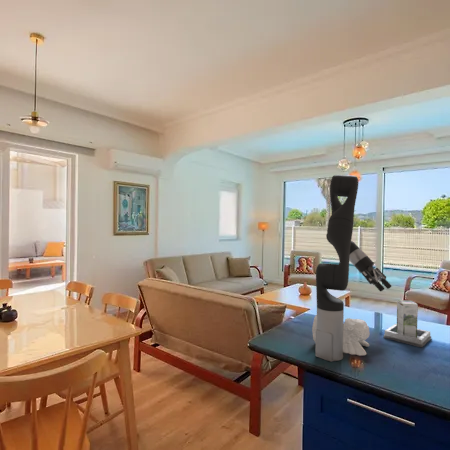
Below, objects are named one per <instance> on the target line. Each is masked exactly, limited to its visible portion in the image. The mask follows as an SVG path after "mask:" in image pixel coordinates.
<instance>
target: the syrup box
mask: <svg viewBox="0 0 450 450" xmlns="http://www.w3.org/2000/svg"><path fill="white" fill-rule="evenodd" d="M418 306H419V304H418V303H416V301H414V300H399V299H397V300H396V324H397V333H400V334H404V335H408V336H412V337H416V338H417V329H418V316H419V315H418V314H419V313H418V312H419V311H418V308H419V307H418Z"/></svg>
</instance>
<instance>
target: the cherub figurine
mask: <svg viewBox="0 0 450 450" xmlns="http://www.w3.org/2000/svg"><path fill="white" fill-rule="evenodd" d="M311 327H312V328H311V330H312V331H311V332H312V339H313V341H314V342H315V343H314V344H316V330H317V314H315V316H314V318H313V322H312V326H311ZM370 333H371V332H370V327H369V325H368V323H367V321H365V320H363V319H360V318H350V317H349V318H348V317H347V318H346V319H345V320H344V321H343V354H349V355H351V356H354V355H357V356H360V357H362V356H363V357H364V356H367V352H366V350H365V349H364V347H366V348H367V347H370V343H368V342H367V341H366V340H367V339H368V338H369V337H370Z"/></svg>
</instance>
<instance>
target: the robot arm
mask: <svg viewBox="0 0 450 450" xmlns="http://www.w3.org/2000/svg"><path fill="white" fill-rule="evenodd" d="M358 189H359V178H358V176H357V175H353V174H352V175H351V174H350V175H348V174H333V176H332V177H331V179H330V184H329V196H330V197H329V198H330V207H331V208H330V209H331V216H330V217H329V218H328V223H327V230H326V240H327V242H328V243H329V244H331V245H332V246H333V248H334V250H335V251H336V254H337V256H338V259H339V263H326V262H325V263H324V262H323V263H322V262H321V263H319V264H318V265H317V266H316V269H315V286H316V287H315V288H316V290H315V291H316V292H315V293H316V315H317V330H316V343H315V350H314V351H315V357H317V358H319V359H322V360H325V361H327V362H336V361H341V360H343V359H344V352H343V324H344V316H345V314H344V307H345V305H344V304H345V303H344V301H343V300H342V299H341V298H338V297H336V296H334V295H332V294H331V293H330V292H329V291H328V290H332V291H341V292H342V291H345V290H347V287H348V284H349V276H350V274H349V273H350V263H351V264H352V265H353V266H354V267H355V269H356V270H357V271H358V272H359V273H360V274H361V275H362V276H363V278H364V279H366V280H367V282H368V283H369V284H370V285H373V286H374V287H375V288H377V290H378V291H379V292H383V291H384V290H385V288H386V289H390V288H392V287H393V286H392V285H391V283H390V282H389V281H388V280H387V276H386V275H385V274H384V272H382V271H381V269H379V268H378V267H376V268H374V265H375V263H374V261H373V260H372V259H371V258H370V257H369V256H368V255H367V254H366V253H365V252H364V251H363V250H362V249H361V248H360V247H359V246H358V245H357V244H356V243H355V242H354V241H353V240H352V238H353V231H354V230H353V229H354V222H355V221H354V219H355V206H356V203H357V202H356V200H357V195H358ZM339 197H342V198H346V199H345V201H344V202H343V203H341V202H340V199H339ZM381 283H382V284H381Z"/></svg>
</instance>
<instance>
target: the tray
mask: <svg viewBox="0 0 450 450" xmlns="http://www.w3.org/2000/svg"><path fill="white" fill-rule="evenodd" d="M383 339H387V340H391V341H395V342H397V343H398V342H399V343H403V344H406V345H411V346H413V347H418V348H423V347H425V346H426V344H428V342H429V341H431V340H432V336H431V331H429V330H424V329H421V328H417V338H416V337H412V336H408V335H404V334H400V333H397V323H394V324H393V325H391V326H389V327H388V328H387V329H385V330H384V334H383Z"/></svg>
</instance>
